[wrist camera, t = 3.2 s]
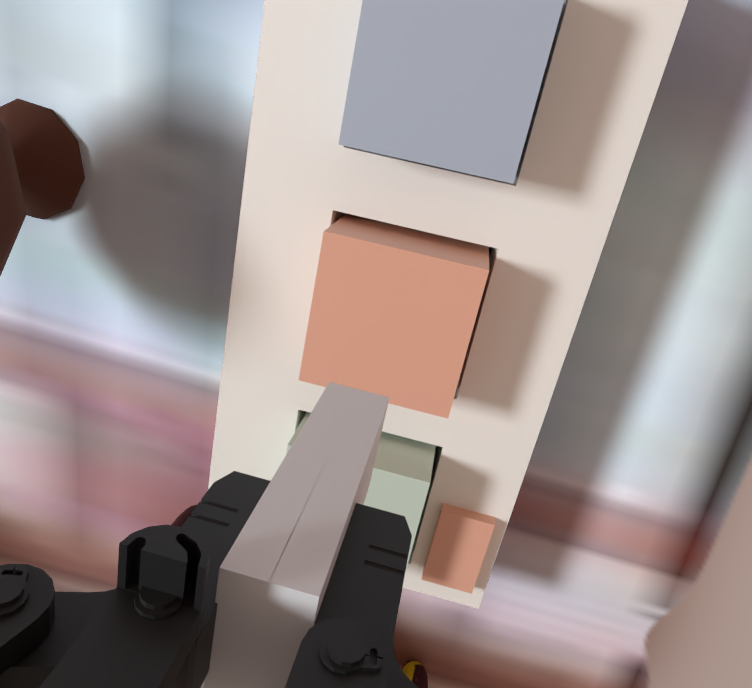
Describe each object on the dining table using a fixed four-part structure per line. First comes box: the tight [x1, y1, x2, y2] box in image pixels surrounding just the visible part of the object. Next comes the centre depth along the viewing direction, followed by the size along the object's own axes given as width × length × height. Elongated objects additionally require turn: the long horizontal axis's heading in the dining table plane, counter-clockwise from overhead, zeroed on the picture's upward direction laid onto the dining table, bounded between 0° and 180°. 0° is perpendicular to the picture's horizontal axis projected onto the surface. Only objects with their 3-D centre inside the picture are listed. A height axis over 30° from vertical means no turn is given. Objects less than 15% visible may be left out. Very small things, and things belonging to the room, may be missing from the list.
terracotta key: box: [299, 214, 489, 418], centre depth 25 cm, size 6×6×4 cm
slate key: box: [338, 0, 564, 184], centre depth 22 cm, size 6×6×4 cm
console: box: [208, 0, 688, 609], centre depth 27 cm, size 28×14×5 cm, turn 169°
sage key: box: [286, 412, 436, 576], centre depth 29 cm, size 6×6×4 cm
